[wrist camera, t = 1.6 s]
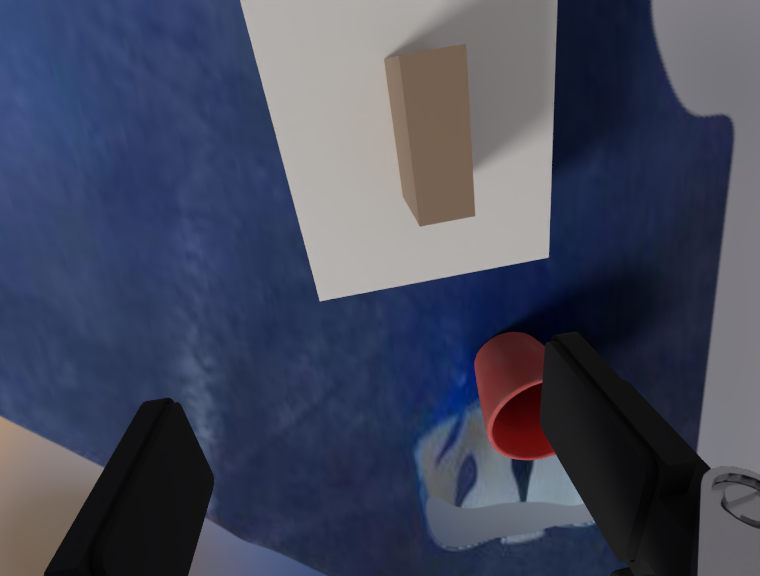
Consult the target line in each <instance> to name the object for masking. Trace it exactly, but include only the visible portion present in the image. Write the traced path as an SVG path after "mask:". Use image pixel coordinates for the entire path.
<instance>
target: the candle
mask: <svg viewBox="0 0 760 576" xmlns="http://www.w3.org/2000/svg"><path fill="white" fill-rule="evenodd" d="M611 576H634V574H633V573H632V571H631V569H630V568H627V569H622V570H617V571H615V572H613V573H612V574H611Z"/></svg>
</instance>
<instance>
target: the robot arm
mask: <svg viewBox="0 0 760 576" xmlns="http://www.w3.org/2000/svg"><path fill="white" fill-rule="evenodd" d="M540 424H541V428H542V431H543V433H544V435H545V436H546V438H547V440H548V441H549V443H550V445H551V447H552V448H553V450H554V452H555V453H556V455H557V457H558V459H559V460H560V462H561V464H562V466H563V467H564V469H565V471H566V472H567V474H568V476H569V478H570V479H571V481H572V483H573V485H574V486H575V488H576V490H577V491H578V493H579V495H580V497H581V498H582V500H583V502H584V503H585V505H586V507H587V509H588V510H589V512H590V514H591V516H592V517H593V519H594V521H595V522H596V524H597V526H598V528H599V529H600V531H601V533H602V535H603V536H604V538H605V540H606V541H607V543H608V545H609V547H610V548H611V550H612V552H613V553H614V555H615V556H616V558H617V559H618V560H619V561H621V562H625V561H626V562H627V564H628V566H629V568H630V569H631V571H632V573H633V574H634V576H645V575H651V574H656V576H760V474H757V473H755V472H752V471H750V470H747V469H742V468H738V467H727V466H725V467H724V466H720V467H717V468H713V469H711V468H710V467H709V466H708V465H707V464H706V463H705V462H704V461H703V460H702V459H701V458H700V457H699V456H698V454H697V453H696V452H695V451H694V450H693V449H692V448H691V447H690V446H689V445H688V444H687V443H686V442H685V441H684V440H683V439H682V438H681V437H680V436H679V434H678V433H677V432H676V431H675V430H674V429H673V428H672V427H671V426H670V425H669V424H668V423H667V422H666V421H665V420H664V419H663V418H662V417H661V416H660V414H659V413H658V412H657V411H656V410H655V409H654V408H653V407H652V406H651V405H650V404H649V403H648V402H647V401H646V400H645V399H644V398H643V397H642V395H641V394H640V393H639V392H638V391H637V390H636V389H635V388H634V387H633V386H632V385H631V384H630V383H629V382H628V381H626V380H625V379H622V378H621V377H620V376H619V375H618V374H617V373H616V372H615V371H614V370H613V369H612V368H611V367H610V366H609V365H608V364H607V363H606V361H605V360H604V359H603V358H602V357H601V356H600V355H599V354H598V353H597V352H596V351H595V350H594V349H593V348H592V347H591V345H590V344H589V343H588V342H587V341H586V340H585V339H584V338H583V337H582V336H581V335H580V334H579V333H578V332H570V333H564V334H558V335H554V336H552V338H551V341H550V342H547V343H546V344H545V353H544V366H543V380H542V393H541V407H540ZM213 487H214V477H213V473H212V471H211V469H210V466H209V464H208V462H207V460H206V458H205V456H204V453H203V451H202V449H201V447H200V445H199V443H198V440H197V438H196V436H195V434H194V432H193V430H192V428H191V425H190V423H189V421H188V419H187V417H186V415H185V412H184V410H183V408H182V406H181V404H180V403H178V402H175V403H174V401H173V400H172V399H171V398H163V399H157V400H151V401H146V402H144V403H143V404H142V405H141V406H140V408H139V410H138V411H137V413H136V415H135V417H134V418H133V420H132V422H131V423H130V425H129V427H128V429H127V430H126V432H125V434H124V436H123V437H122V439H121V441H120V442H119V444H118V446H117V448H116V449H115V451H114V453H113V455H112V456H111V458H110V460H109V462H108V463H107V465H106V467H105V468H104V470H103V472H102V474H101V475H100V477H99V479H98V481H97V482H96V484H95V486H94V488H93V489H92V491H91V493H90V494H89V496H88V498H87V500H86V501H85V503H84V505H83V506H82V508H81V510H80V512H79V513H78V515H77V517H76V519H75V521H74V522H73V524H72V526H71V527H70V529H69V531H68V532H67V534H66V536H65V538H64V539H63V541H62V543H61V545H60V546H59V548H58V550H57V551H56V553H55V555H54V557H53V558H52V560H51V562H50V564H49V565H48V567H47V569H46V571H45V572H44V576H188V574H189V570H190V567H191V563H192V560H193V556H194V553H195V549H196V546H197V543H198V539H199V536H200V532H201V529H202V525H203V522H204V518H205V515H206V512H207V508H208V505H209V501H210V498H211V494H212V491H213Z"/></svg>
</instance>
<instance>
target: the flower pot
mask: <svg viewBox="0 0 760 576" xmlns="http://www.w3.org/2000/svg"><path fill="white" fill-rule="evenodd" d="M544 353H545V346H544V345H543V344H541V343H540V342H539V341H537V340H536V339H535V338H533V337H532V336H530V335H528V334H526V333H522V332H507V333H503V334H500V335H497V336H495V337H494V338H492V339H490V340H489V341H488V342H486V343H485V344H484V345H483V346H482V347H481V349H480V350H479V352H478V353H477V356H476V359H475V373H476V380H477V387H478V393H479V398H480V403H481V408H482V413H483V418H484V422H485V427H486V431H487V435H488V438H489V441H490V443H491V444H492V446H493V447H494V448H495V449H496V450H497V451H498V452H499V453H501V454H502V455H504V456H507V457H510V458H513V459H519V460H536V459H542V458H547V457H550V456H553V455H556V453H555V452H554V450H553V448H552V447H551V445H550V443H549V441H548V440H547V438H546V436H545V435H544V433H543V431H542V428H541V424H540V407H541V393H542V380H543V366H544Z"/></svg>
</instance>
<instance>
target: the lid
mask: <svg viewBox="0 0 760 576" xmlns="http://www.w3.org/2000/svg"><path fill="white" fill-rule="evenodd" d="M240 1H241V5H242V9H243V13H244V17H245V20H246V24H247V28H248V32H249V35H250V39H251V43H252V47H253V50H254V54H255V58H256V62H257V66H258V69H259V73H260V77H261V81H262V84H263V88H264V92H265V96H266V100H267V103H268V107H269V111H270V115H271V118H272V122H273V126H274V130H275V134H276V137H277V141H278V145H279V149H280V152H281V156H282V160H283V164H284V167H285V171H286V175H287V179H288V183H289V186H290V190H291V194H292V198H293V201H294V205H295V209H296V213H297V217H298V220H299V224H300V228H301V232H302V235H303V239H304V243H305V247H306V251H307V254H308V258H309V262H310V266H311V269H312V273H313V277H314V281H315V284H316V288H317V292H318V296H319V300H320V301H324V300H329V299H334V298H339V297H345V296H350V295H355V294H360V293H366V292H371V291H376V290H381V289H386V288H392V287H397V286H402V285H407V284H413V283H418V282H423V281H428V280H433V279H439V278H444V277H449V276H454V275H460V274H465V273H470V272H475V271H480V270H486V269H491V268H496V267H501V266H507V265H512V264H517V263H522V262H528V261H533V260H538V259H543V258H548V257H549V234H550V205H551V176H552V146H553V117H554V88H555V59H556V30H557V1H558V0H240Z"/></svg>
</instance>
